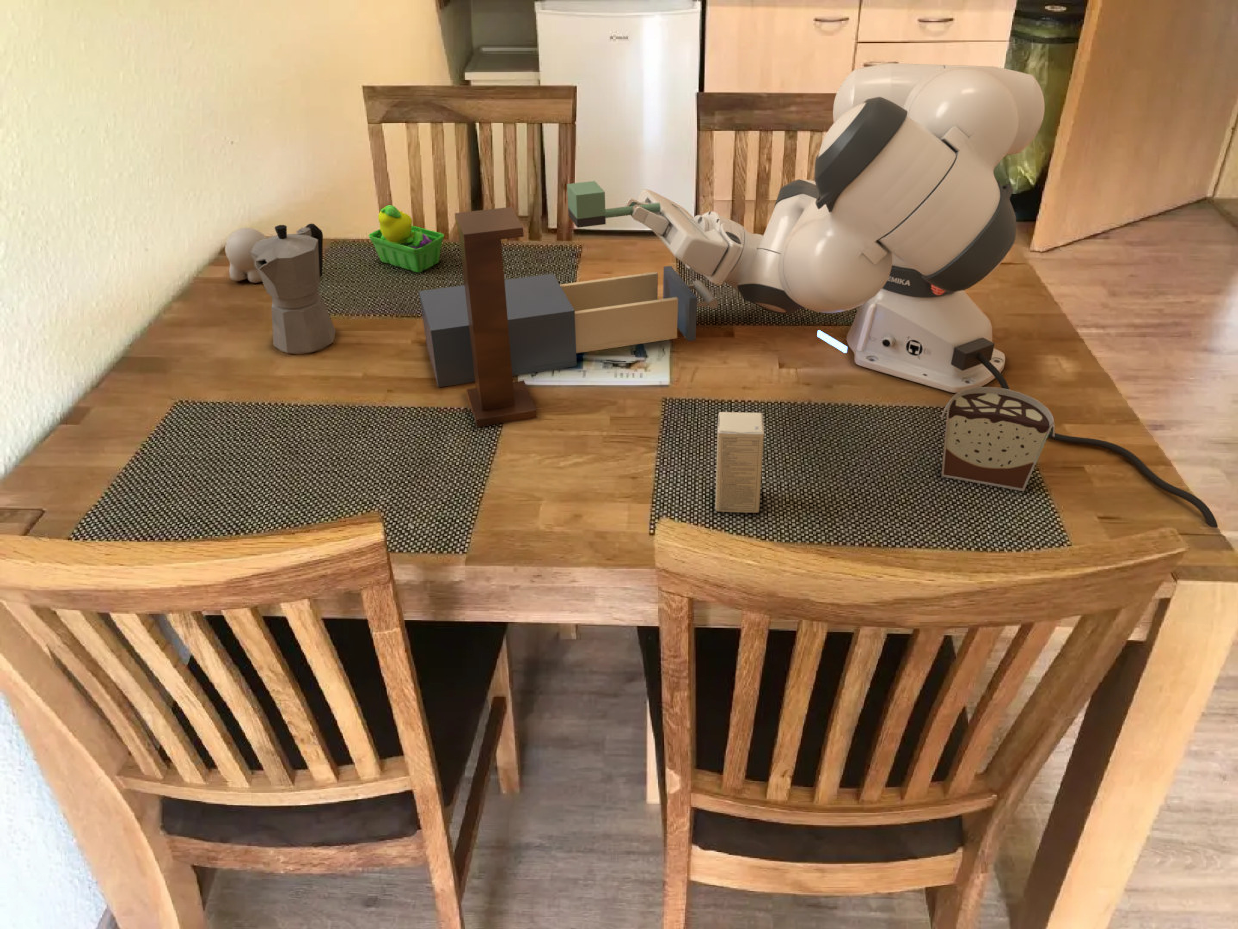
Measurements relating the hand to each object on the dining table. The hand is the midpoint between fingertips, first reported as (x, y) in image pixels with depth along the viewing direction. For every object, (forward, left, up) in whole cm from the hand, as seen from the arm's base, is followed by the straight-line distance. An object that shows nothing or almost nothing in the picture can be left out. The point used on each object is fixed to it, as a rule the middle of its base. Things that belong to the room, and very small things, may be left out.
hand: (630, 207), depth 135 cm
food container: (-54, -6, -20) cm, 58 cm away
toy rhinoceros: (+59, +28, -20) cm, 68 cm away
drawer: (0, -1, -19) cm, 19 cm away
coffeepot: (+35, +34, -20) cm, 53 cm away
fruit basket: (+47, +8, -20) cm, 51 cm away
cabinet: (+9, +18, -20) cm, 28 cm away
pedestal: (-2, +26, -20) cm, 33 cm away
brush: (+1, +2, -1) cm, 2 cm away
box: (-37, +20, -20) cm, 47 cm away
